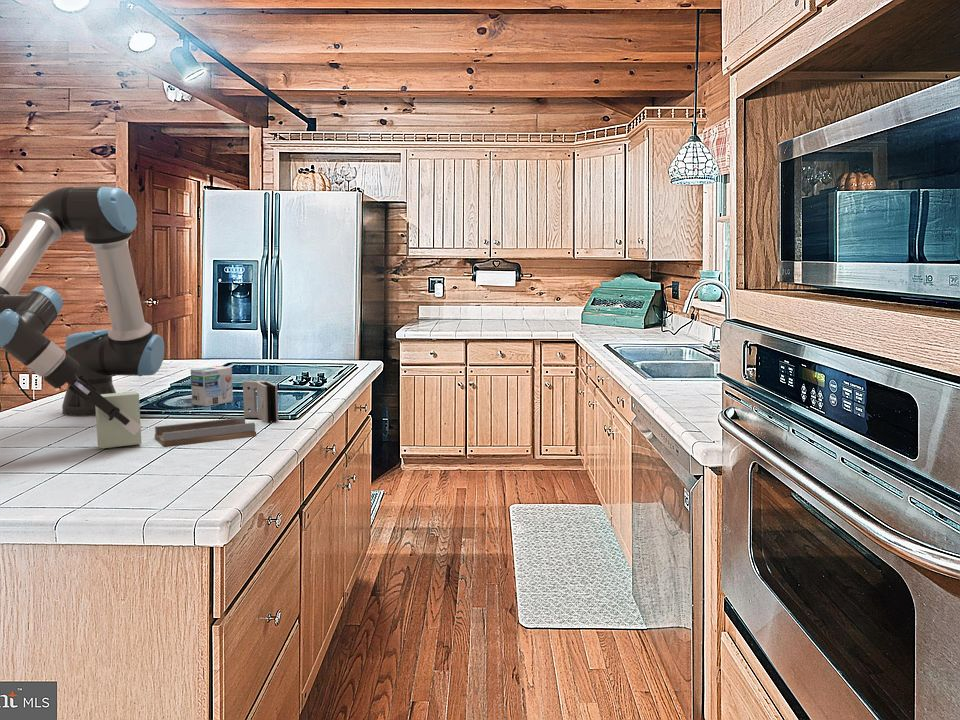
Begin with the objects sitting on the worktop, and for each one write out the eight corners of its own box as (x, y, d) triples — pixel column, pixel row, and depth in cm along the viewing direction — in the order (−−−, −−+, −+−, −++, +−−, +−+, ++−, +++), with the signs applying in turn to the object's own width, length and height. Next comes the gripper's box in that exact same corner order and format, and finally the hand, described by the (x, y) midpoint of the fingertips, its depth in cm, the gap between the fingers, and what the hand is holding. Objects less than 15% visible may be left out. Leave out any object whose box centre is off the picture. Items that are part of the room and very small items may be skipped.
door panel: (97, 445, 198) (94, 394, 196) (138, 440, 202) (135, 391, 201) (100, 448, 194) (97, 397, 193) (141, 443, 199) (138, 393, 198)
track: (154, 437, 208) (154, 426, 207) (243, 427, 220) (242, 416, 219) (164, 446, 199) (164, 434, 198) (256, 435, 210) (255, 424, 210)
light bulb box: (205, 407, 249) (204, 371, 247) (190, 404, 252) (189, 369, 251) (234, 401, 258) (232, 366, 256) (219, 399, 261) (218, 365, 260)
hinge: (243, 416, 235) (242, 380, 234) (260, 413, 239) (259, 378, 238) (268, 423, 225) (267, 386, 224) (285, 421, 229) (284, 384, 228)
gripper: (38, 373, 195) (118, 434, 206) (45, 383, 181) (131, 448, 192) (61, 349, 197) (140, 411, 208) (71, 357, 183) (155, 423, 194)
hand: (136, 428), depth 200 cm, fingers closed on door panel, 4 cm apart
